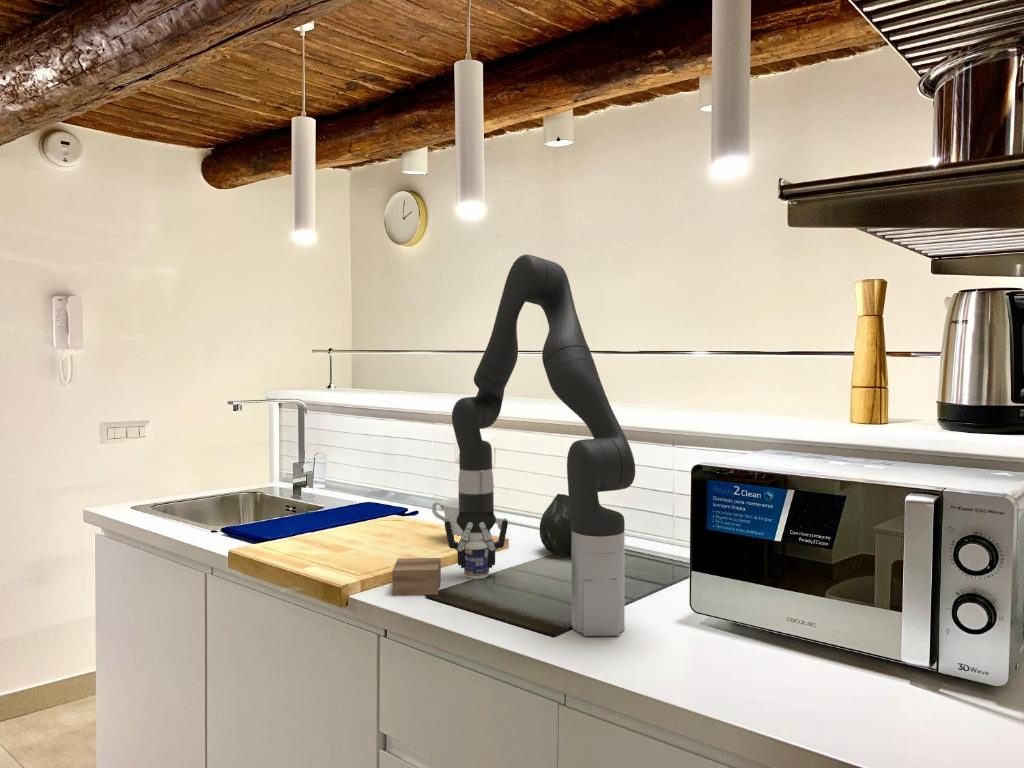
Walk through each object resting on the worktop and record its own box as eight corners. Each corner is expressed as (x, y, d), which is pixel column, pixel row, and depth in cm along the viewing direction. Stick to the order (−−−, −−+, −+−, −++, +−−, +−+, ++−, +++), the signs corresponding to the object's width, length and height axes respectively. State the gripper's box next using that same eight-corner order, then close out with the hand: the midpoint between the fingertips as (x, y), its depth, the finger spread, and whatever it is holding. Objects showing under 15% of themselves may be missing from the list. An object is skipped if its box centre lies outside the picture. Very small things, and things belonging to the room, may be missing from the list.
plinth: (437, 594, 156) (437, 570, 156) (392, 595, 156) (392, 570, 156) (440, 581, 165) (440, 557, 165) (398, 581, 165) (397, 558, 165)
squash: (622, 530, 187) (586, 479, 192) (587, 545, 175) (549, 491, 181) (586, 561, 194) (552, 512, 200) (550, 578, 183) (515, 524, 188)
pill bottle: (461, 578, 167) (460, 533, 167) (468, 571, 172) (467, 527, 172) (485, 580, 166) (484, 534, 165) (492, 573, 171) (491, 529, 171)
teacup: (441, 532, 209) (441, 495, 208) (494, 536, 204) (494, 498, 204) (422, 543, 197) (422, 504, 197) (478, 548, 193) (478, 507, 192)
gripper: (441, 493, 164) (442, 572, 165) (509, 492, 165) (510, 571, 165) (443, 486, 172) (444, 562, 173) (509, 485, 172) (509, 562, 173)
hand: (476, 566), depth 169 cm, fingers closed on pill bottle, 5 cm apart
